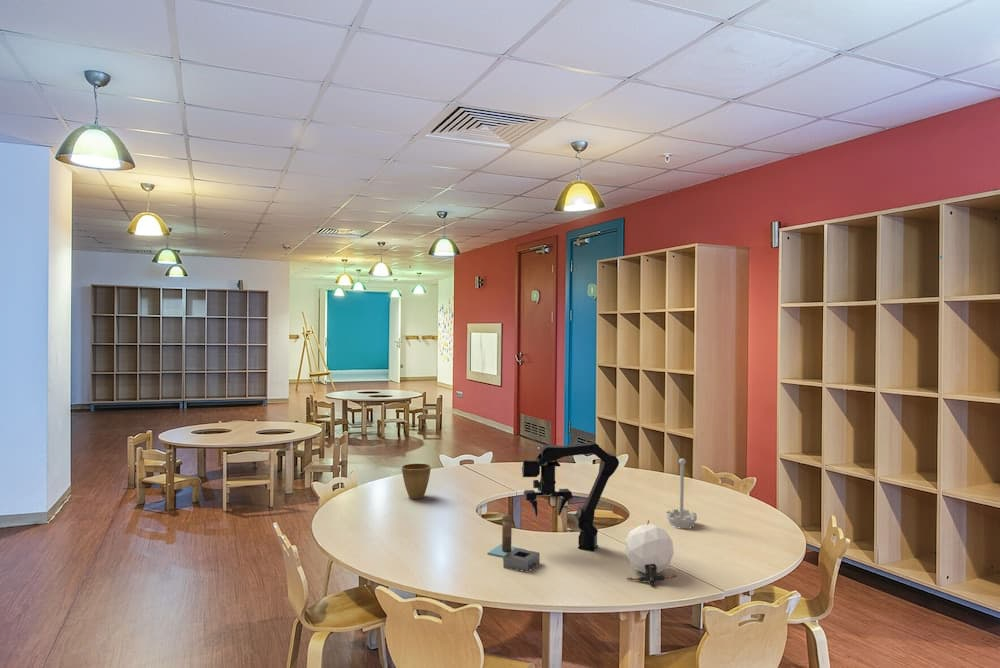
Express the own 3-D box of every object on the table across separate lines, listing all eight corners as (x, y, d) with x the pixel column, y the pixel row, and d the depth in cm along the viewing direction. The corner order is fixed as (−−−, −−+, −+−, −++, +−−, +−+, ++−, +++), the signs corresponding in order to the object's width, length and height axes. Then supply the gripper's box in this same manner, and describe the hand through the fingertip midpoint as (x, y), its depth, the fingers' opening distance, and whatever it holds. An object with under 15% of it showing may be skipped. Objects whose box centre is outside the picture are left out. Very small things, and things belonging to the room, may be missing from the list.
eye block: (539, 563, 241) (539, 552, 241) (527, 572, 233) (527, 561, 233) (515, 558, 246) (515, 547, 246) (503, 566, 237) (503, 556, 237)
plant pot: (434, 494, 336) (435, 464, 335) (424, 502, 321) (424, 470, 321) (408, 492, 339) (408, 462, 339) (396, 499, 325) (396, 468, 325)
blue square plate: (525, 550, 255) (525, 549, 255) (512, 559, 245) (512, 557, 245) (500, 545, 260) (500, 544, 260) (487, 554, 250) (487, 552, 250)
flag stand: (697, 530, 282) (699, 462, 281) (667, 528, 284) (668, 460, 284) (695, 521, 295) (696, 456, 294) (665, 519, 297) (666, 454, 297)
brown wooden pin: (513, 551, 252) (513, 514, 252) (505, 553, 250) (506, 516, 250) (507, 548, 255) (507, 511, 255) (499, 550, 253) (500, 513, 253)
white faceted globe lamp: (674, 544, 244) (666, 499, 233) (681, 601, 223) (673, 554, 212) (627, 547, 248) (618, 503, 237) (630, 603, 227) (620, 557, 216)
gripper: (564, 471, 267) (564, 509, 267) (520, 473, 263) (520, 511, 263) (572, 478, 256) (572, 517, 256) (526, 479, 252) (526, 519, 252)
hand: (547, 516), depth 257 cm, fingers open, 9 cm apart
